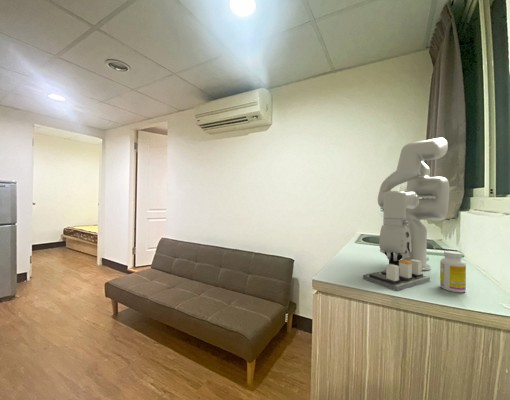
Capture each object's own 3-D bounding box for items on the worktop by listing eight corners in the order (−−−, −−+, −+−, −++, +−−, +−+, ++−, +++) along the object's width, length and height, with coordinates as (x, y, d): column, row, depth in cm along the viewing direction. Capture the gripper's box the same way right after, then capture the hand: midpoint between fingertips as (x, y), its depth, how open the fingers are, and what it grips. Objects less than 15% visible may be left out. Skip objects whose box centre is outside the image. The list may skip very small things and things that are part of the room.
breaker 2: (412, 271, 89) (413, 259, 89) (421, 274, 86) (421, 261, 86) (409, 272, 88) (409, 259, 88) (418, 275, 85) (418, 261, 85)
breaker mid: (403, 274, 85) (403, 259, 85) (411, 277, 82) (412, 261, 82) (399, 275, 84) (399, 260, 84) (408, 278, 81) (408, 262, 81)
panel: (394, 271, 97) (395, 266, 97) (429, 281, 85) (429, 275, 85) (362, 278, 87) (363, 272, 87) (397, 291, 76) (397, 284, 76)
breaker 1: (390, 277, 82) (390, 263, 82) (398, 280, 79) (399, 265, 79) (386, 278, 81) (386, 264, 81) (394, 281, 78) (395, 266, 78)
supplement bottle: (470, 292, 76) (471, 254, 76) (456, 294, 74) (457, 255, 74) (448, 284, 82) (449, 249, 82) (435, 286, 80) (435, 250, 80)
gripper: (421, 224, 82) (420, 274, 82) (382, 220, 95) (381, 264, 95) (409, 225, 79) (408, 277, 79) (370, 221, 92) (369, 266, 92)
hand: (393, 270), depth 87 cm, fingers closed
